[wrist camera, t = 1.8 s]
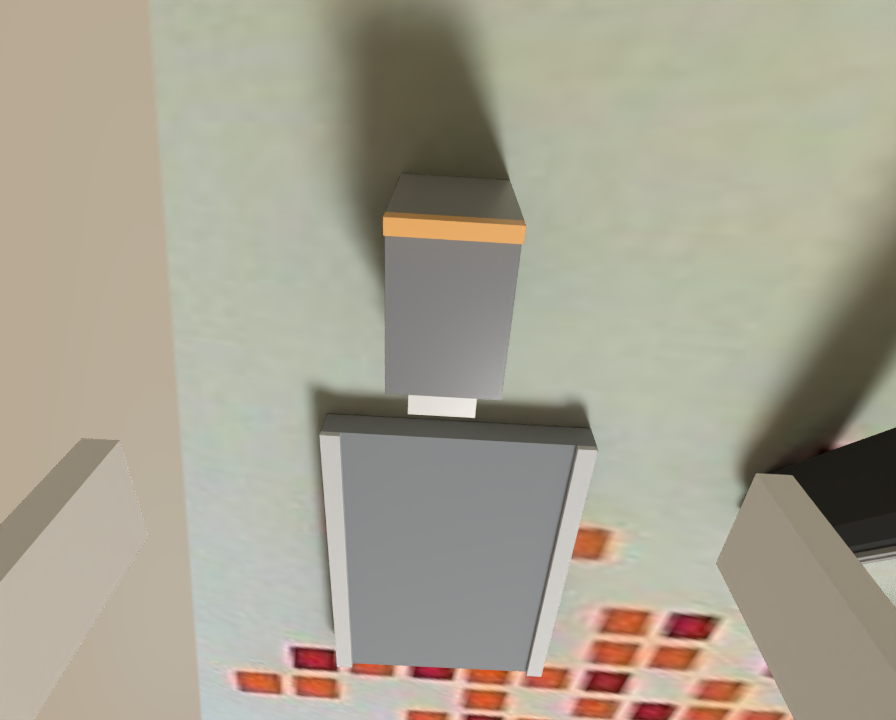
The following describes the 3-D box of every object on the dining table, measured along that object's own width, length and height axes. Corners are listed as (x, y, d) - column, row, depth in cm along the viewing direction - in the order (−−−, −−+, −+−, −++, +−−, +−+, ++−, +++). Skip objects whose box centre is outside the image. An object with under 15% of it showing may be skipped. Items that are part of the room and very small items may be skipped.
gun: (722, 412, 35) (736, 571, 30) (1024, 259, 22) (1148, 492, 17) (757, 427, 36) (777, 585, 30) (1073, 286, 23) (1207, 520, 17)
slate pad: (326, 413, 29) (319, 435, 27) (590, 428, 29) (598, 450, 28) (342, 641, 39) (337, 666, 38) (537, 651, 39) (541, 676, 38)
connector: (401, 172, 23) (382, 217, 17) (509, 179, 23) (526, 225, 17) (398, 369, 28) (383, 454, 22) (487, 375, 28) (495, 460, 22)
